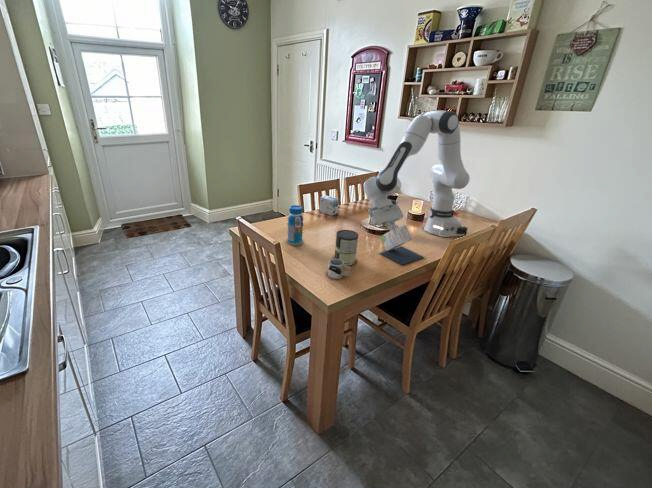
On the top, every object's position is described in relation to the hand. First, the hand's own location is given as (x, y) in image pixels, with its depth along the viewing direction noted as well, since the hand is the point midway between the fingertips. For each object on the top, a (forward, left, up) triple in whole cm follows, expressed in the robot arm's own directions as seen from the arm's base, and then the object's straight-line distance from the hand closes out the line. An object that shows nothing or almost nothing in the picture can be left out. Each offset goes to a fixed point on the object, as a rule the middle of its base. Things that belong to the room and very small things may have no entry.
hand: (393, 229), depth 167 cm
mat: (-4, +6, -11) cm, 14 cm away
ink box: (+2, -2, -9) cm, 9 cm away
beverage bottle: (+50, -8, -12) cm, 52 cm away
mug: (+31, +27, -12) cm, 43 cm away
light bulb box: (+26, -56, -12) cm, 62 cm away
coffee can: (+26, +12, -12) cm, 31 cm away
